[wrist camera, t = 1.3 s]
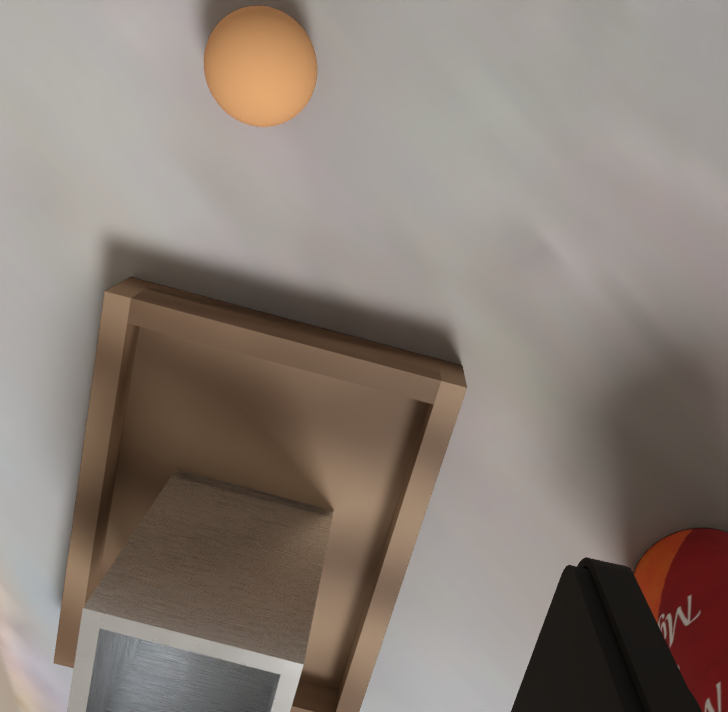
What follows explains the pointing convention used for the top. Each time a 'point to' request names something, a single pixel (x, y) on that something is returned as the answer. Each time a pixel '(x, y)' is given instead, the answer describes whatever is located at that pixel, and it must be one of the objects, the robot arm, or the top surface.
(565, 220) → the top surface
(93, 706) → the square metal container
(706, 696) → the paper cup
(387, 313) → the top surface
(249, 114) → the mixing ball
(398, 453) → the walnut tray
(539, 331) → the top surface
